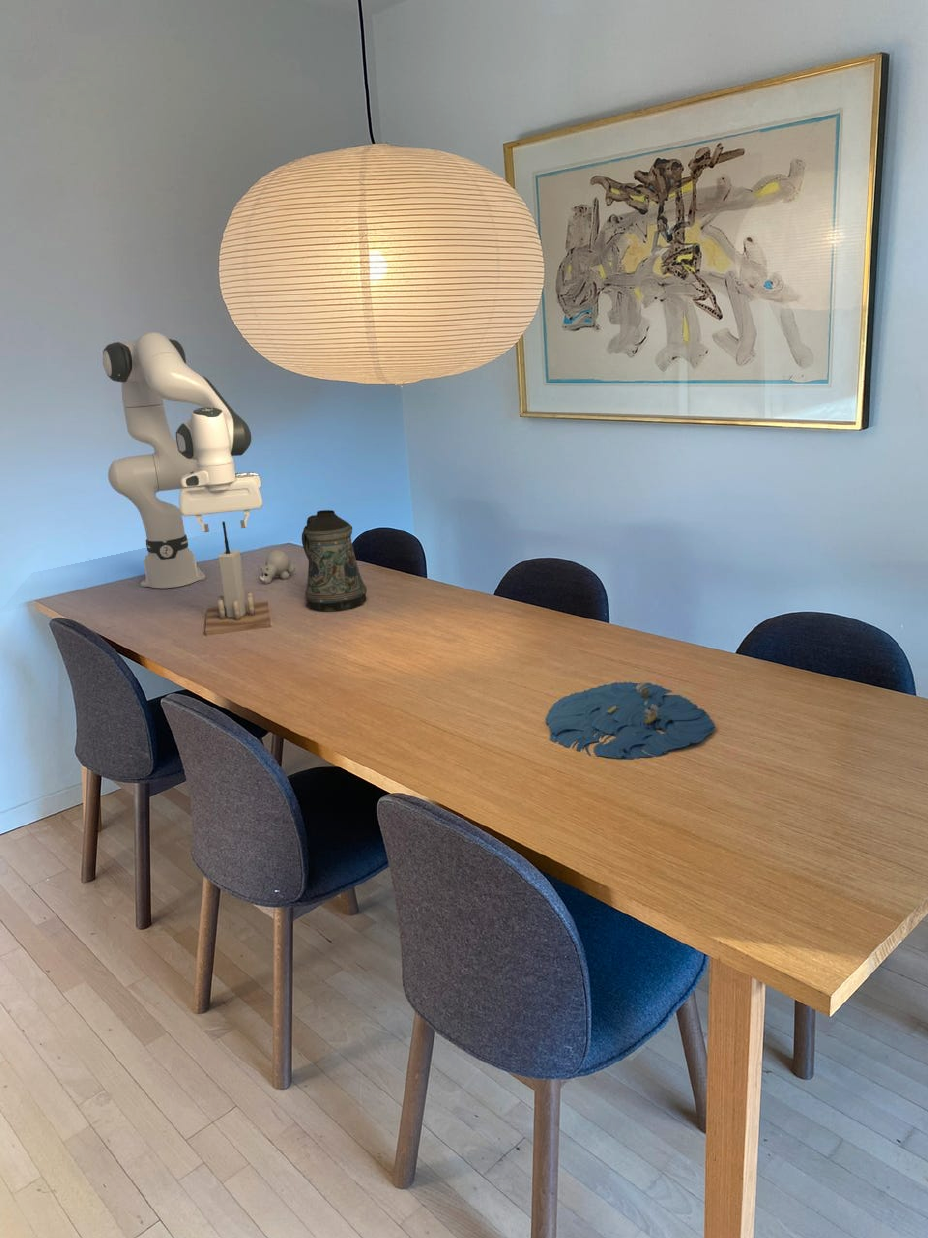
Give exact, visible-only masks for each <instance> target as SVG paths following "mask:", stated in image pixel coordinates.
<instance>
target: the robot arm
mask: <svg viewBox="0 0 928 1238" xmlns="http://www.w3.org/2000/svg"><path fill="white" fill-rule="evenodd" d="M102 366H103V368H104V371H105V373H106V375H107V377H109V379H110V380H112V381H113V382H116V383H120V384H121V387H120V388H121V401H122V407H123V411H124V417H125V424H126V429H127V433H128V435H130V438H132V439H133V440H136V441H138V442H140V443H144V444H146V445H149V446H151V447H152V449H153V451H154V452H153V453H150V454H149V453H148V454H141V455H131V456H126V457H123V458H119V459H117V460H116V459H115V460H114V461H112V463H111V464H110V466H109V468H108V472H107V476H108V481H109V484H110V486H111V487H112V489H113V490H114V491H115V492H117V493H118V494H120V495H122V496H124V497H125V498H126V499H128V500H129V501H131V502H132V504H133V505H134V506H135V507H136V509H137V510H138V512H139V514H140V516H141V520H142V523H143V524H142V525H143V527H144V532H145V537H146V539H145V547H146V551H147V554H146V556H144V558H143V565H144V573H145V579H144V580H143V581H141V582H140V586H141V587H147V588H148V587H149V588H152V589H171V588H179V587H184V586H188V585H191V584H193V583H196V582H199V581H203V580H205V579H206V575H205V573H204V572H203V571H202V570H201V569H200V567H199V565H198V563H197V562H196V557H195V555H196V554H195V553H194V552H193V551H192V550H190V548H189V547H188V546H189V540H188V536H187V534H185V527H184V522H183V521H184V519H183V517H193V516H195V520H196V521H197V523H198V524H199V525H200V526H201V528H202V529H201V530H202V533H208V532H210V529H209V524H208V523H204V521H203V520H202V519H203V516H204V515H213V514H220V513H221V514H222V513H233V512H242V511H243V514H244V518H243V519H242V520H239V521H240V529H248V525H247V521H248V519H249V517H250V515H251V513H250V511H251V510H259V509H261V508H262V507H263V506H264V505H263V504H264V503H263V498H262V497H263V496H262V493H261V491H260V489H261V488H262V479H261V476H260V474H258V473H255V472H254V471H247V472H236V469H235V463H234V461H235V460H234V458H233V457H236V456H242V455H244V453H246V452H247V450H248V449H249V447H250V446H251V443H252V433H251V430H250V427H249V425H248V423H247V422H246V421H245V420H244V419H243V418H242V417H241V416H239V415H238V414H237V413H236V412H235V411H234V410H233V408H232V407H231V406H230V405H229V403H228V402H227V400H225V399H224V397H223V396H222V395H221V393H220V392H219V391H218V390H217V388H216V387H215V386H214V384H212V382H211V381H210V380H209V379H208V378H207V377H205V376H203V375H201V374H199V373H197V372H196V371H194V370H193V369H192V368H190V366H188V365H187V360H186V353H185V349H184V348H183V346H182V344H181V343H180V342H179V341H178V340H176V339H171V338H168V337H166V336H165V335H164V334H162V333H160V332H155V331H152V332H147V333H144V334H143V335H142V336H140V337H139V338H138V339H135V340H130V341H129V340H128V341H122V342H119V341H116V342H113V343H109V344H107V345H106V346H105V348H104V349H103V353H102ZM164 400H166V401H167V400H168V401H173V402H179V403H180V402H182V403H189V404H194V405H198V406H201V407H200V408H195V409H194V410H193V411H192V412H191V414H190V419H189V420H187V421H186V422H182V423H181V424H180V425H179V426H178V428H177V429H176V432H175V438H174V436H173V434H172V433H171V430H170V428H169V425H168V420H167V416H166V409H165V405H164ZM173 490H179V494H178V495H179V496H178V497H179V498H178V499H179V500H178V504H179V505H178V506H179V507H178V506H176V505H175V504H173V503H170V502H167V501H164V500H161V499H159V498H158V497H157V495H156V494H157V493H159V492H164V491H165V492H166V491H173Z"/></svg>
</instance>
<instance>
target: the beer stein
mask: <svg viewBox="0 0 928 1238" xmlns="http://www.w3.org/2000/svg"><path fill="white" fill-rule="evenodd" d="M352 534H353V526H352V525H351V524H350V523H349V522H348V521H347V520H344V519H343V518H341V517H340V516H338V515H337V514H336V513H335V510H332V509H331V510H330V509H324V510H318V511H317V512H316V515H315V514H313V515H311V516H310V515H309V516H308V518H307V520H306V525H305V526H304V528H303V530H302V533H301V543H302V548H303V551H304V554H305V555H306V557H307V559H308V571H307V572H308V573H307V585H306V590H305V593H304V596H305V601H306V603H307V607H308V608H309V610H312V611H315V612H318V613H336V612H337V613H338V612H345V611H350V610H354V609H356V608H360V607H361V606H364V604H365V603H366V602H367V601H366V600H367V599H366V597H367V596H366V595H367V590H368V589H367V586H366V585H365V583H364V582H363V579H362V576H361V574H360V570H359V567H358V563H357V559H356V554H355V550H354V546H353V543H352V539H351V538H352V536H351V535H352Z"/></svg>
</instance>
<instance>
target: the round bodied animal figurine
mask: <svg viewBox="0 0 928 1238" xmlns="http://www.w3.org/2000/svg"><path fill="white" fill-rule="evenodd" d="M258 568H259V569H260V574H261V575H260V576H259V578H260V581H261V582H262V583H263V584H264V585H268V584H270V583H272V579H273V578H274V579H279V578H281V579H282V580H287V579H289V577H290V574H292V573H294V572H295V571H296V567H295V565H293V564H292V563H291V560H290V557H289V556H288V554H287V553H286V552H285V551H282V550H279V549H277V550H273V551H271V552H269V553H268V554H267V555H266V558H265V565H264V566H259V567H258Z"/></svg>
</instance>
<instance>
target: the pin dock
mask: <svg viewBox="0 0 928 1238" xmlns="http://www.w3.org/2000/svg"><path fill="white" fill-rule="evenodd" d="M246 599H247V602H246V604H247V607H248V613H246V614H245V615H244V616H243V617H241V618H240V612H239V605H238V600H234V601H232V603H233V610H234V616H235V618H228V616H227V609H226V604H225V597H224V595H218V596H217V606H214V607H213V606H212V607H208V608H207V607H206V617H205V627H204V631H205V633H204V634H205V636H210V635H216V634H217V635H218V634H224V633H234V632H242V631H248V630H249V631H250V630H257V629H265V628H270V627H272V624H271V618H270V617H271V616H270V609H269V603H268V600H262V601H261V600H260V601H255V602H254V596H253V592H252V591H249V592H247V593H246Z"/></svg>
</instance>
